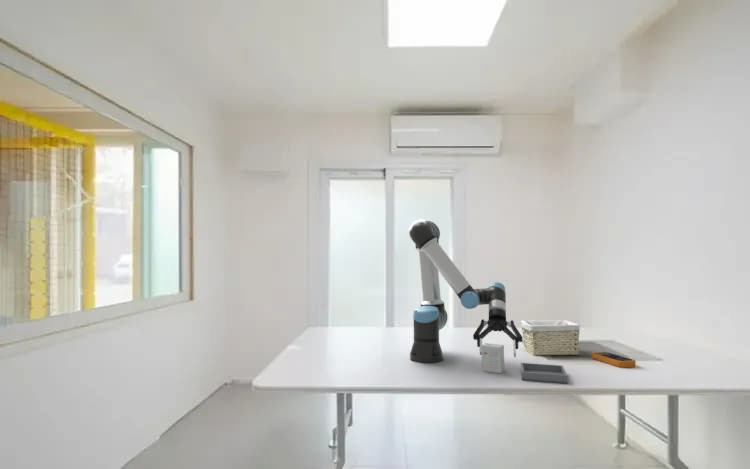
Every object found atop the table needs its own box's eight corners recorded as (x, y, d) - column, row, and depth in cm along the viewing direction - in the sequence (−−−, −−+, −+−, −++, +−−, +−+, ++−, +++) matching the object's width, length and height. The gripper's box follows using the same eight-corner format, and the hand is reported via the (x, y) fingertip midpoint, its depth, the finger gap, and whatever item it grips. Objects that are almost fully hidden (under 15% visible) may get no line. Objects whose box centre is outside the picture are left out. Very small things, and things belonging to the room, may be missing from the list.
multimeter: (622, 369, 181) (621, 361, 181) (590, 359, 198) (590, 351, 199) (638, 368, 183) (638, 359, 183) (605, 358, 201) (605, 350, 201)
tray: (521, 380, 165) (521, 372, 165) (521, 370, 179) (520, 362, 179) (567, 383, 160) (567, 375, 160) (562, 373, 174) (562, 365, 174)
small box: (504, 370, 178) (504, 344, 179) (501, 373, 173) (500, 347, 174) (485, 368, 182) (485, 342, 183) (481, 371, 178) (481, 345, 178)
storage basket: (531, 356, 204) (530, 324, 204) (520, 348, 220) (519, 319, 220) (582, 356, 203) (581, 324, 204) (567, 348, 219) (566, 319, 220)
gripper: (526, 318, 193) (529, 360, 178) (469, 316, 200) (467, 357, 185) (526, 308, 188) (529, 350, 173) (468, 306, 195) (466, 347, 180)
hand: (497, 354), depth 179 cm, fingers open, 13 cm apart
